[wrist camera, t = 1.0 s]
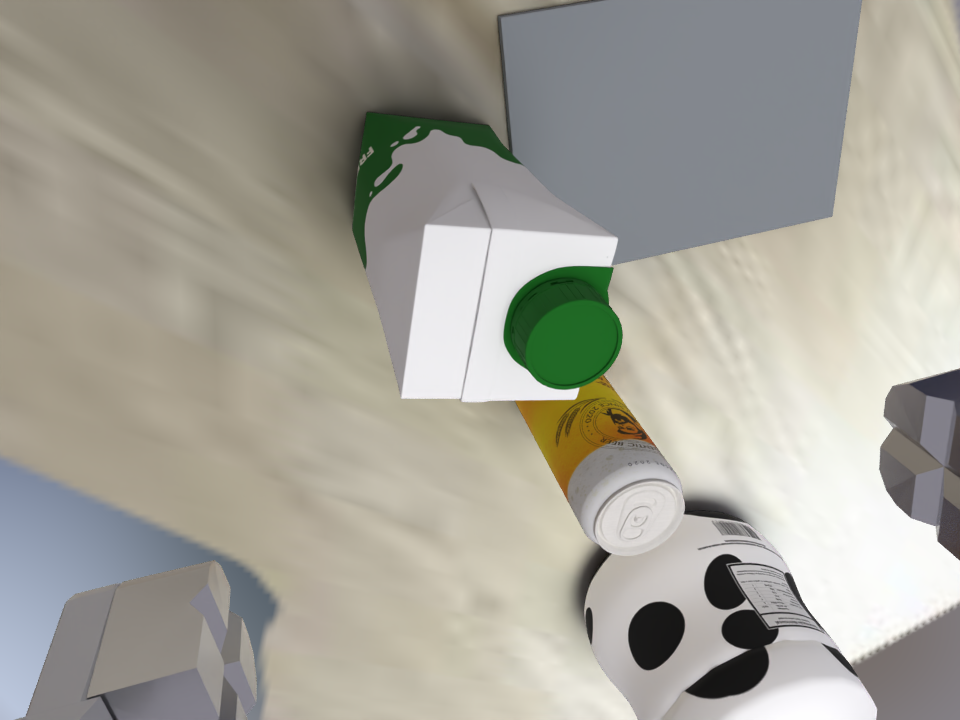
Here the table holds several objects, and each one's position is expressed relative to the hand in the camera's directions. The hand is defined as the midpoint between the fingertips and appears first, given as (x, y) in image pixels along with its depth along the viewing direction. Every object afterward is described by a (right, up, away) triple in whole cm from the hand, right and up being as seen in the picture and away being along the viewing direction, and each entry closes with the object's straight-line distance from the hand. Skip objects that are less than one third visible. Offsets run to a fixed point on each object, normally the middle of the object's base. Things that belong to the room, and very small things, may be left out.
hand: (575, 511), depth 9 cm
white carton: (-5, +12, +37) cm, 40 cm away
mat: (+11, +16, +40) cm, 44 cm away
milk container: (+15, -16, +61) cm, 65 cm away
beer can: (+4, +1, +47) cm, 47 cm away
